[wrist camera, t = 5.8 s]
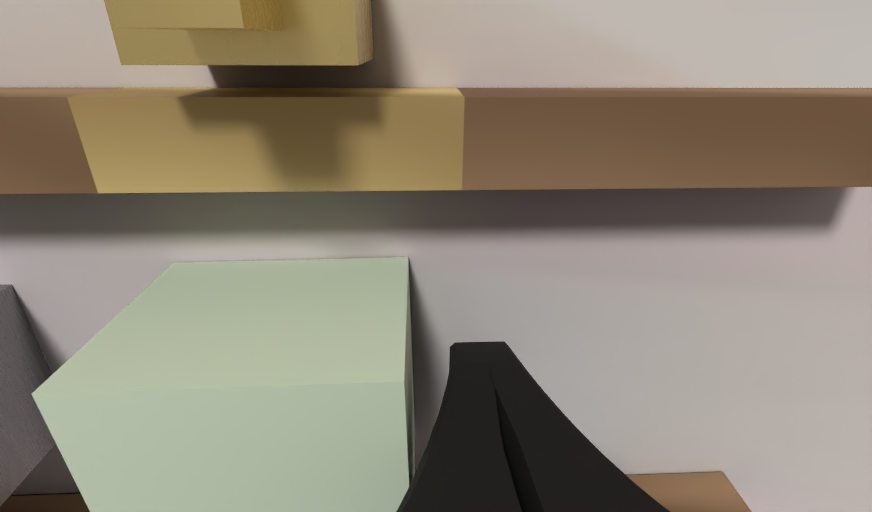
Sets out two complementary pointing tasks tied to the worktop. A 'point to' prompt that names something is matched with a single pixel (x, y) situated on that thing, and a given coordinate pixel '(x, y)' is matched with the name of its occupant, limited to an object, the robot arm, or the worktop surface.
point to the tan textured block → (242, 32)
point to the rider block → (245, 391)
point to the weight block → (19, 396)
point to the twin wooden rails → (434, 157)
